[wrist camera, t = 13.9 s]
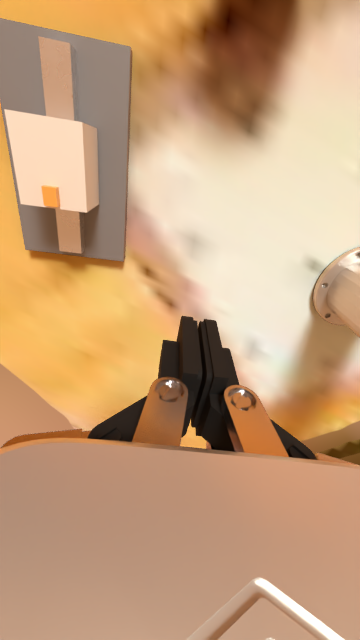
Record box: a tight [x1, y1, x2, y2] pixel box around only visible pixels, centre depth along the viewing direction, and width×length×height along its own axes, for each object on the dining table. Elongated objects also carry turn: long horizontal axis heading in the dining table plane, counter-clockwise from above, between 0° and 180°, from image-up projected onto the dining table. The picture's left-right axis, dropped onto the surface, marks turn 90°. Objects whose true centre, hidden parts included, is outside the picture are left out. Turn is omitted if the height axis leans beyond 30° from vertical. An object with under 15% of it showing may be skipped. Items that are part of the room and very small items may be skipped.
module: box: [4, 109, 99, 213], centre depth 25 cm, size 6×7×6 cm
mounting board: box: [0, 18, 132, 261], centre depth 28 cm, size 12×20×2 cm, turn 172°
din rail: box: [38, 36, 85, 254], centre depth 27 cm, size 2×18×2 cm, turn 172°
